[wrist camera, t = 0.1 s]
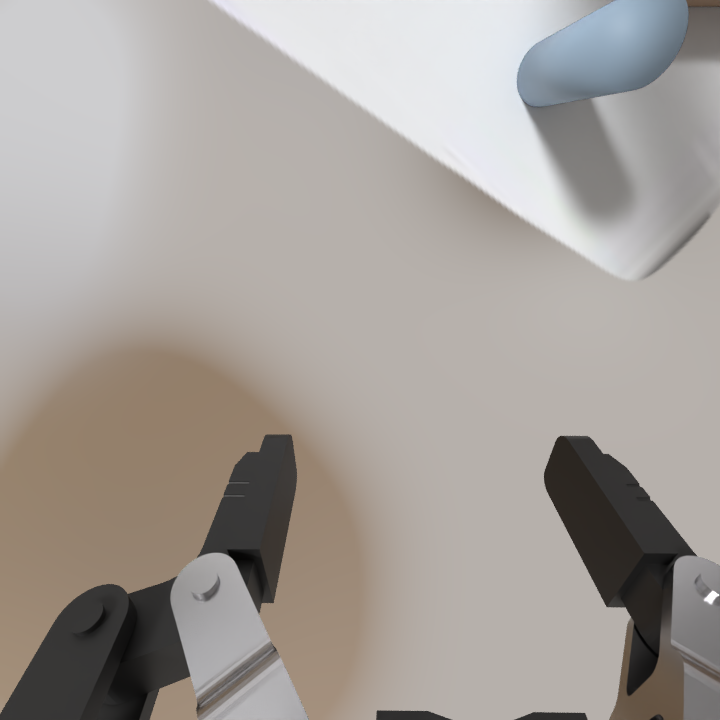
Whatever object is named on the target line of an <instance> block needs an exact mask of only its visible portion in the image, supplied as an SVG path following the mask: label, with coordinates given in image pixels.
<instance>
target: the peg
mask: <svg viewBox="0 0 720 720" xmlns="http://www.w3.org/2000/svg"><path fill="white" fill-rule="evenodd" d="M687 26H688V5H687V2H686V0H614V1H613V2H611V3H609V4H607V5H605V6H604V7H602V8H600V9H598V10H596V11H595V12H593V13H591V14H589V15H587V16H585V17H584V18H582V19H580V20H578V21H576V22H575V23H573V24H571V25H569V26H567V27H566V28H564V29H562V30H560V31H558V32H556V33H555V34H553V35H551V36H549V37H547V38H546V39H544V40H542V41H540V42H538V43H537V44H536V45H534V46H533V47H532V48H531V49H530V50H529V51H528V52H527V54H526V55H525V56H524V58H523V60H522V62H521V64H520V67H519V70H518V75H517V88H518V92H519V95H520V96H521V98H522V99H523V101H524V102H525V103H527V104H528V105H530V106H533V107H543V106H549V105H555V104H560V103H566V102H571V101H577V100H582V99H588V98H594V97H599V96H605V95H610V94H616V93H622V92H627V91H632V90H637V89H639V88H642V87H644V86H646V85H648V84H650V83H651V82H653V81H654V80H655V79H657V78H658V77H659V76H660V75H661V74H662V73H663V72H664V71H665V70H666V69H667V68H668V67H669V65H670V64H671V63H672V61H673V60H674V58H675V57H676V55H677V54H678V52H679V50H680V48H681V46H682V43H683V41H684V38H685V35H686V31H687Z"/></svg>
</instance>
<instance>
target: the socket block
mask: <svg viewBox="0 0 720 720" xmlns="http://www.w3.org/2000/svg"><path fill="white" fill-rule="evenodd" d="M686 2H687V5H688V7H720V0H686Z"/></svg>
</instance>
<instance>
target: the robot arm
mask: <svg viewBox="0 0 720 720" xmlns="http://www.w3.org/2000/svg"><path fill="white" fill-rule="evenodd" d="M296 482H297V469H296V462H295V456H294V449H293V441H292V436H291V435H265V437H264V440H263V442H262V445H261V448H260V451H259V452H247V453H246V454H245V455H244V456H243V457H242V459H241V460H240V461H239V462H238V463H237V464H236V465H235V467H234V469H233V472H232V474H231V477H230V480H229V484H228V485H227V487H226V490H225V492H224V497H223V498H222V500H221V502H220V505H219V507H218V510H217V512H216V515H215V518H214V520H213V523H212V525H211V528H210V530H209V533H208V535H207V538H206V540H205V543H204V545H203V548H202V550H201V552H200V554H199V555H198V557H197V558H196V559H195V560H193V561H192V562H190V563H189V564H188V565H187V566H186V567H185V568H184V569H183V570H182V571H181V572H180V574H179V575H178V576H177V577H175V578H173V579H171V580H169V581H166V582H164V583H161V584H158V585H155V586H152V587H148V588H145V589H142V590H139V591H136V592H133V593H130V594H127V593H126V591H125V590H124V589H123V588H122V587H120V586H118V585H114V584H106V585H101V586H97V587H94V588H92V589H90V590H88V591H86V592H85V593H83V594H81V595H80V596H78V597H77V598H75V599H74V600H73V601H72V602H71V603H70V604H69V605H68V606H67V607H66V608H65V609H64V610H63V611H62V612H61V613H60V615H59V616H58V617H57V619H56V620H55V622H54V624H53V625H52V627H51V628H50V630H49V632H48V634H47V636H46V637H45V639H44V640H43V642H42V644H41V645H40V647H39V649H38V651H37V652H36V654H35V656H34V658H33V659H32V661H31V662H30V664H29V666H28V668H27V669H26V671H25V673H24V675H23V676H22V678H21V680H20V681H19V683H18V685H17V686H16V688H15V690H14V692H13V693H12V695H11V697H10V698H9V700H8V702H7V703H6V705H5V707H4V708H3V710H2V712H1V714H0V720H150V716H151V713H152V710H153V707H154V704H155V701H156V698H157V695H158V692H159V689H160V688H162V687H164V686H167V685H170V684H172V683H175V682H177V681H180V680H182V679H185V678H187V677H190V676H191V679H192V682H193V687H194V690H195V694H196V698H197V718H198V720H309V719H308V716H307V714H306V712H305V710H304V708H303V706H302V703H301V701H300V699H299V697H298V695H297V692H296V690H295V688H294V686H293V684H292V682H291V679H290V677H289V675H288V673H287V671H286V668H285V666H284V664H283V662H282V660H281V658H280V656H279V654H278V652H277V650H276V648H275V647H274V646H273V644H272V642H271V640H270V638H269V636H268V634H267V631H266V629H265V627H264V625H263V623H262V620H261V618H260V616H259V613H260V608H261V604H262V603H274V598H275V592H276V588H277V583H278V578H279V573H280V567H281V562H282V557H283V552H284V547H285V542H286V537H287V532H288V526H289V521H290V516H291V511H292V506H293V501H294V496H295V490H296ZM544 482H545V486H546V490H547V492H548V494H549V496H550V498H551V500H552V502H553V504H554V506H555V508H556V510H557V512H558V514H559V516H560V517H561V519H562V521H563V523H564V525H565V527H566V529H567V531H568V533H569V535H570V537H571V539H572V541H573V543H574V545H575V547H576V549H577V550H578V552H579V554H580V556H581V558H582V560H583V562H584V564H585V566H586V568H587V570H588V572H589V574H590V576H591V578H592V580H593V581H594V583H595V585H596V587H597V589H598V591H599V593H600V595H601V597H602V599H603V601H604V603H605V605H606V606H607V607H626V609H627V611H628V612H629V614H630V616H631V618H630V620H629V622H628V624H627V630H626V638H625V646H624V653H623V661H622V669H621V676H620V684H619V692H618V697H617V702H616V705H615V708H614V710H613V712H612V714H611V717H610V719H609V720H720V565H718V564H716V563H714V562H712V561H710V560H707V559H705V558H701V557H698V556H697V555H696V554H695V553H694V552H693V551H692V549H691V548H690V547H689V546H688V544H687V543H686V542H685V541H684V539H683V538H682V537H681V536H680V534H679V533H678V532H677V531H676V529H675V528H674V527H673V526H672V524H671V523H670V522H669V520H668V519H667V518H666V517H665V515H664V514H663V513H662V512H661V510H660V509H659V508H658V507H657V505H656V504H655V503H654V502H653V501H651V500H650V497H649V495H648V494H647V493H646V492H645V490H644V489H643V488H642V487H640V486H639V483H638V482H637V480H636V479H635V478H634V476H633V475H632V474H631V473H630V471H629V470H628V469H627V468H626V467H625V466H624V465H622V464H621V463H620V462H618V461H617V460H616V459H614V458H613V457H612V456H610V455H609V454H603V453H602V452H601V450H600V449H599V448H598V447H597V445H596V444H595V442H594V441H593V440H592V439H591V438H590V437H588V436H560V437H558V438H557V440H556V442H555V445H554V447H553V450H552V453H551V455H550V458H549V461H548V464H547V466H546V469H545V472H544ZM376 720H451V719H448V718H445V717H443V716H440V715H437V714H434V713H431V712H429V711H377V718H376ZM515 720H587V717H586V715H585V713H544V712H543V713H542V712H537V713H536V712H533V713H531V714H528V715H526V716H523V717H521V718H518V719H515Z"/></svg>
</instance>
